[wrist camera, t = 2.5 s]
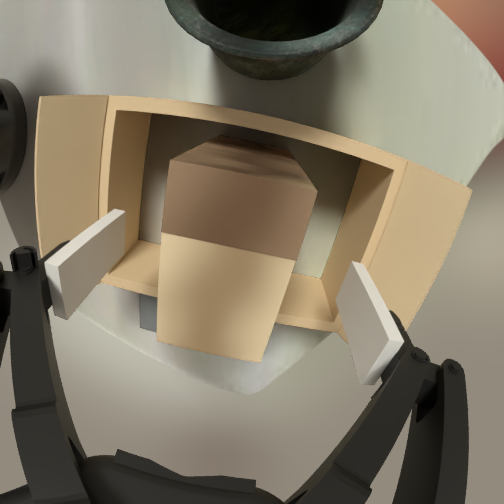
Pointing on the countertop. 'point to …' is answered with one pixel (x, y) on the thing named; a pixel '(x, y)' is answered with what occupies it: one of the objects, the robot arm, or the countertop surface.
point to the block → (229, 245)
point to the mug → (274, 31)
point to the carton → (373, 159)
